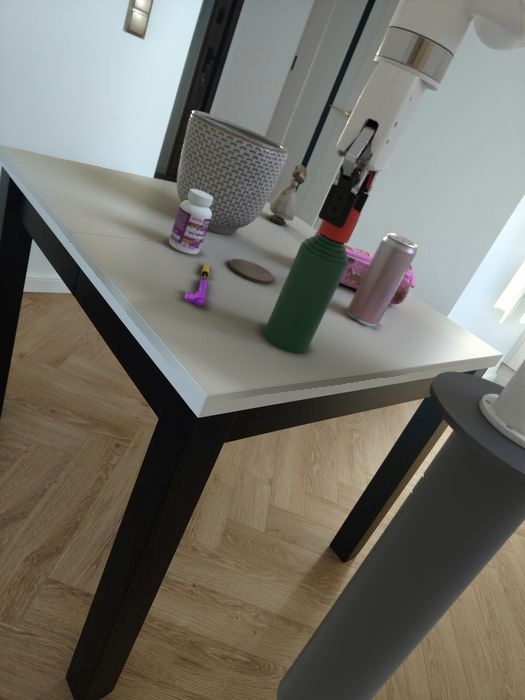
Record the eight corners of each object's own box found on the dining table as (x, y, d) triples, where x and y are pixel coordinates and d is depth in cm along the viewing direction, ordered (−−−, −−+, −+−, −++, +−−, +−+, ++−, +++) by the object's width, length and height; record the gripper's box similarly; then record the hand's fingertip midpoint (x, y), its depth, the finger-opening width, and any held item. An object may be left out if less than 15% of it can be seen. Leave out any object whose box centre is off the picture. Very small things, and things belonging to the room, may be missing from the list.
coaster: (279, 279, 90) (280, 276, 90) (262, 287, 83) (263, 284, 83) (241, 259, 92) (242, 256, 92) (221, 265, 85) (222, 262, 85)
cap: (350, 242, 64) (364, 213, 62) (343, 245, 60) (357, 215, 59) (323, 228, 64) (335, 199, 63) (314, 231, 61) (327, 201, 59)
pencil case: (301, 277, 97) (320, 233, 93) (299, 262, 105) (316, 222, 101) (401, 315, 100) (424, 275, 96) (392, 298, 108) (412, 260, 104)
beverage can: (348, 306, 92) (387, 229, 85) (378, 321, 91) (420, 244, 85) (343, 315, 86) (384, 234, 80) (375, 331, 86) (419, 250, 79)
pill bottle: (181, 255, 82) (199, 198, 78) (162, 240, 85) (178, 184, 81) (205, 255, 86) (224, 201, 82) (186, 241, 89) (203, 188, 85)
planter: (145, 208, 97) (173, 104, 88) (188, 200, 114) (215, 113, 106) (235, 252, 94) (273, 150, 86) (266, 237, 112) (299, 151, 104)
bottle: (313, 344, 71) (373, 220, 63) (298, 358, 65) (362, 224, 57) (273, 323, 72) (327, 199, 64) (256, 335, 67) (313, 200, 59)
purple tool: (203, 307, 68) (210, 268, 82) (204, 299, 67) (210, 261, 81) (183, 305, 67) (193, 267, 82) (184, 297, 67) (193, 260, 81)
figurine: (263, 213, 132) (285, 156, 126) (286, 221, 134) (309, 166, 128) (268, 222, 125) (291, 162, 119) (293, 231, 127) (317, 172, 121)
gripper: (391, 65, 62) (328, 205, 70) (363, 27, 47) (286, 211, 55) (448, 88, 61) (377, 229, 68) (438, 57, 45) (347, 242, 53)
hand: (337, 219), depth 61 cm, fingers open, 5 cm apart
